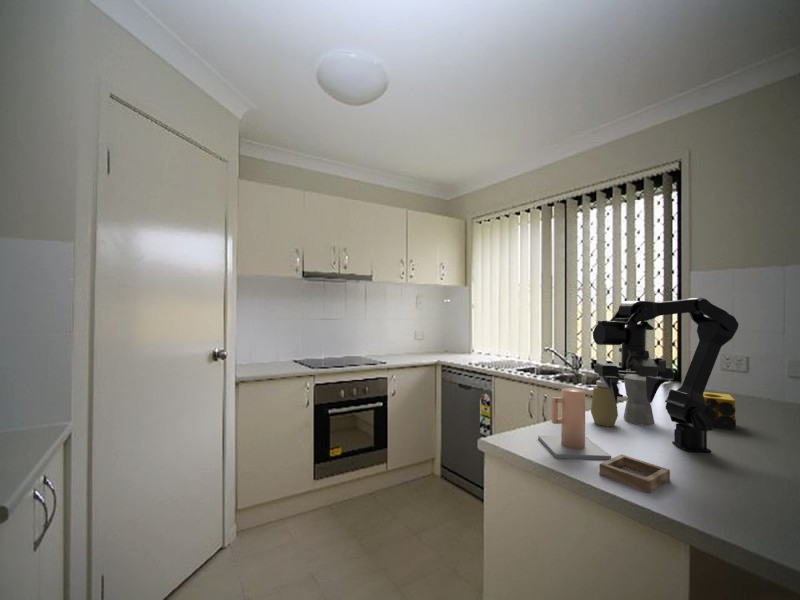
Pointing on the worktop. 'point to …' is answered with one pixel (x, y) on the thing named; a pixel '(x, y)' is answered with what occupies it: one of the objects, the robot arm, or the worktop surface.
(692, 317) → the robot arm
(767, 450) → the worktop surface
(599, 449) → the pad
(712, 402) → the yellow spotted cube
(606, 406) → the squeeze bottle
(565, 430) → the tan piece
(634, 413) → the coffeepot
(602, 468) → the collar
